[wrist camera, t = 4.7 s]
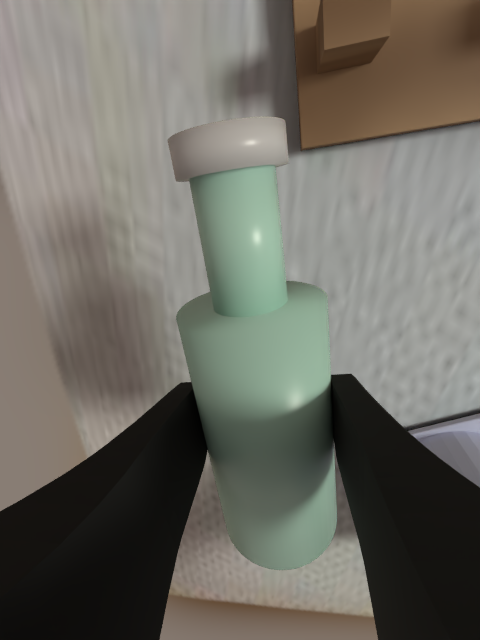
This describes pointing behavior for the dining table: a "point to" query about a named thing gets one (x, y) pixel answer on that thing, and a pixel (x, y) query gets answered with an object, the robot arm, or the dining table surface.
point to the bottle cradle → (384, 67)
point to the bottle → (257, 349)
